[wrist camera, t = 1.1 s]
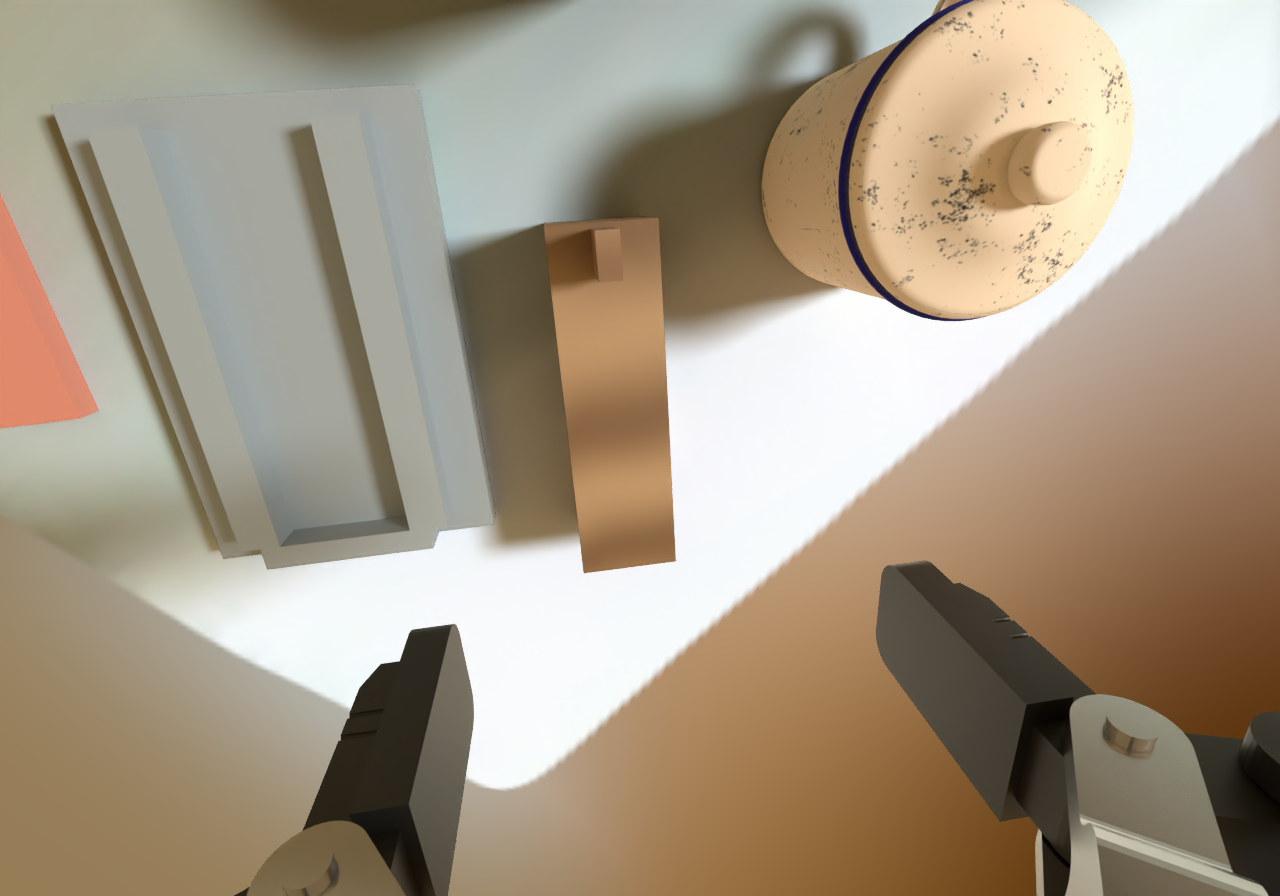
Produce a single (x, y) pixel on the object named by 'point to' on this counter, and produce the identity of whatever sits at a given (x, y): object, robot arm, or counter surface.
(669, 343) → the counter surface
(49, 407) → the salmon pink bar
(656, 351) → the plank with peg
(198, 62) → the counter surface
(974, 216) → the teacup with lid
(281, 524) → the cradle jig
